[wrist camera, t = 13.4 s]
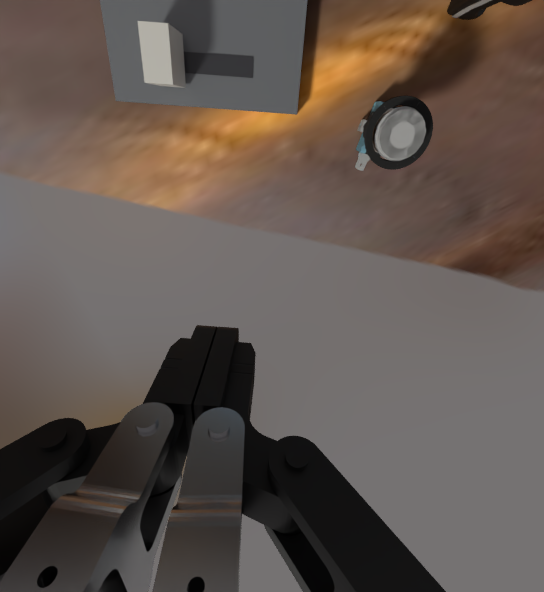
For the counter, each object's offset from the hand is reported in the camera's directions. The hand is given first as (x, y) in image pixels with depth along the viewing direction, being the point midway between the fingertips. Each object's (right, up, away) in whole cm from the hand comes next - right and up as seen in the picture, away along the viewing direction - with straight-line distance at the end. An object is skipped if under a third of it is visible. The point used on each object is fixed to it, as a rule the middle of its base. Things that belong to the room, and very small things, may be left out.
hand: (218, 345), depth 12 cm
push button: (+12, +19, +22) cm, 32 cm away
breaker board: (-4, +29, +17) cm, 34 cm away
